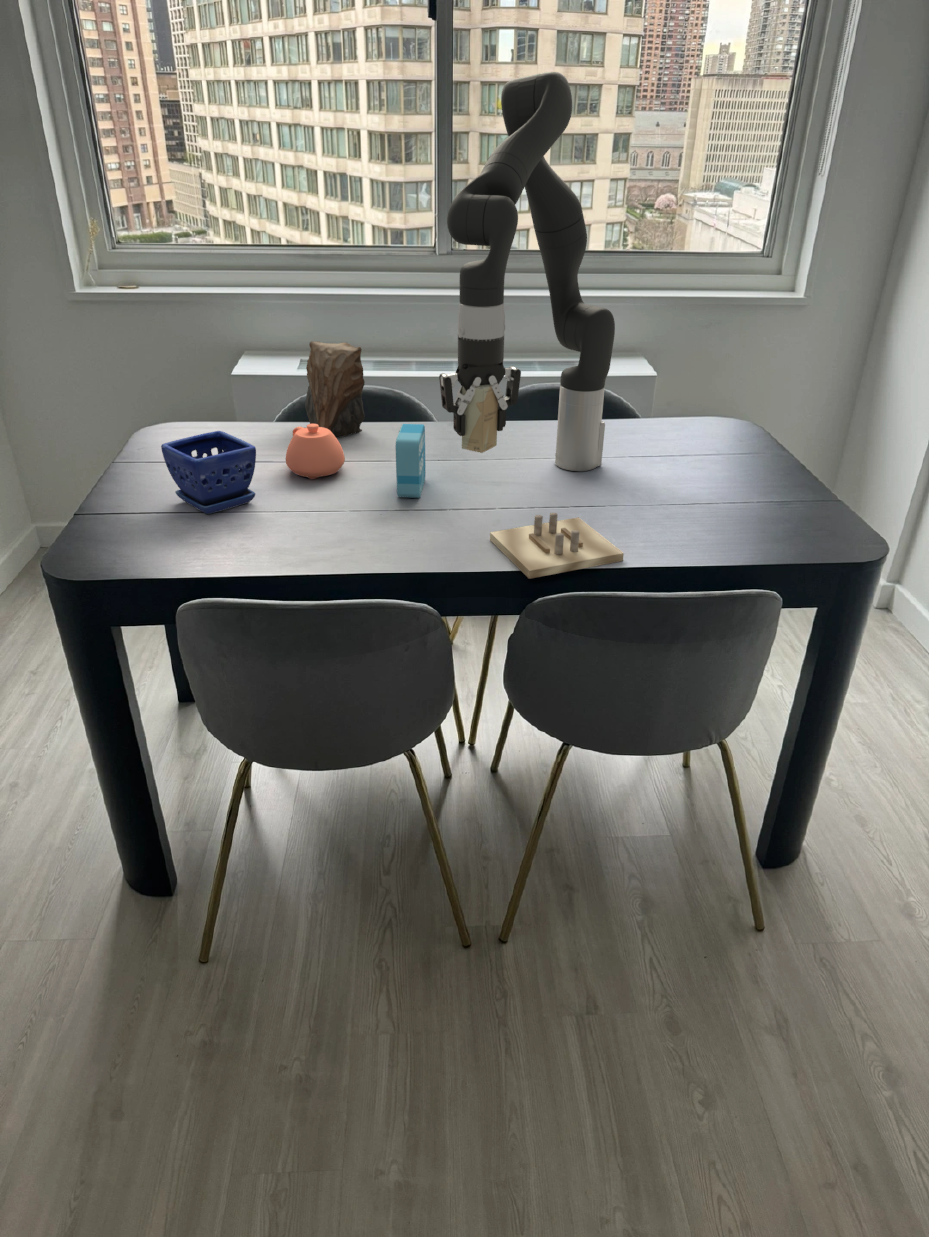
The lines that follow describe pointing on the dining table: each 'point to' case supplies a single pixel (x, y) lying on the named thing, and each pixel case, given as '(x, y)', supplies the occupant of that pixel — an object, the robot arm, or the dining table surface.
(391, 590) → the dining table surface
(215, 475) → the flower pot
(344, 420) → the owl
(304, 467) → the sugar bowl
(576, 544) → the tray
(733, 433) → the dining table surface
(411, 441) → the data package
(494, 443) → the box
